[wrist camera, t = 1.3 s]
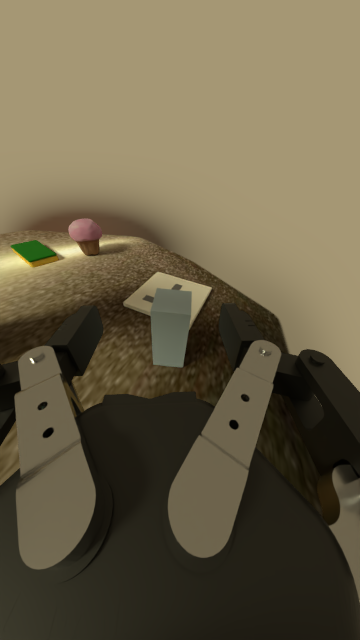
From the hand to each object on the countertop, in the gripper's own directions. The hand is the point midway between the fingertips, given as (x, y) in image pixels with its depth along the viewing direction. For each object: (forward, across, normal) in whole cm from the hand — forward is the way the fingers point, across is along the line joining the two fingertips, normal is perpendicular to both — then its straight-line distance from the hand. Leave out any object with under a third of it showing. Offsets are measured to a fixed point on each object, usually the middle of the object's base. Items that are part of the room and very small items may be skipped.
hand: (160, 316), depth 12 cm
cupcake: (+51, +25, +10) cm, 58 cm away
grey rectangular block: (+13, 0, +17) cm, 21 cm away
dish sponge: (+47, +40, +10) cm, 63 cm away
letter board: (+29, 0, +15) cm, 32 cm away
